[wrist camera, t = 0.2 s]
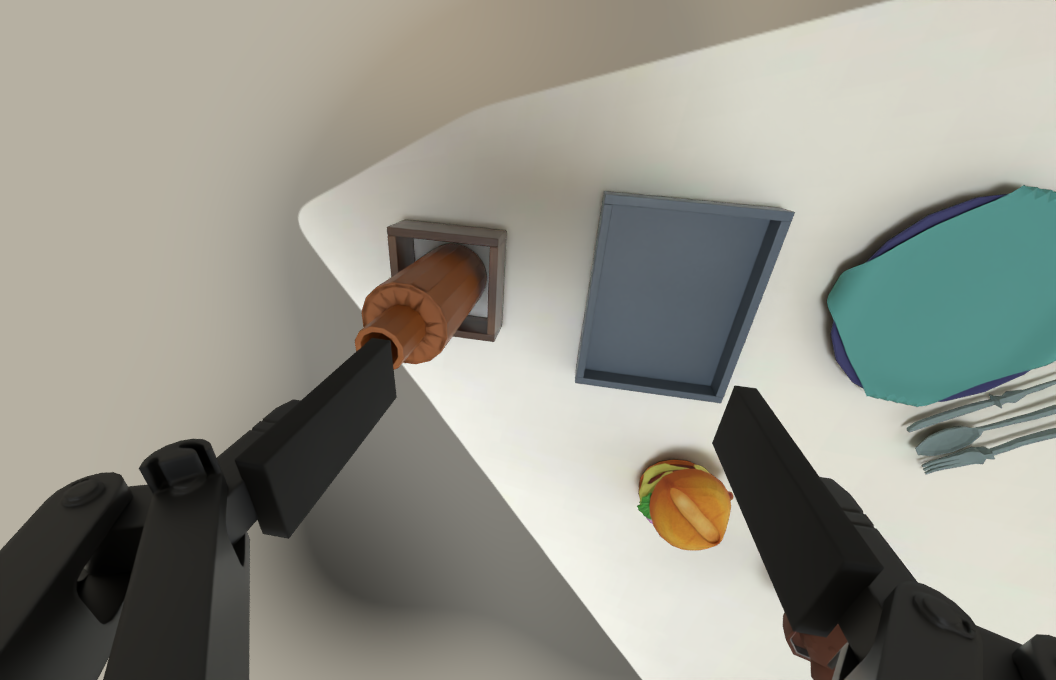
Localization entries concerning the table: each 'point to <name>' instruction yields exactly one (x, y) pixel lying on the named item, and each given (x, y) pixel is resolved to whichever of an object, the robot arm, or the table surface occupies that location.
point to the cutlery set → (955, 316)
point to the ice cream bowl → (815, 649)
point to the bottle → (424, 304)
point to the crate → (495, 239)
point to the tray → (675, 292)
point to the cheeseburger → (685, 504)
